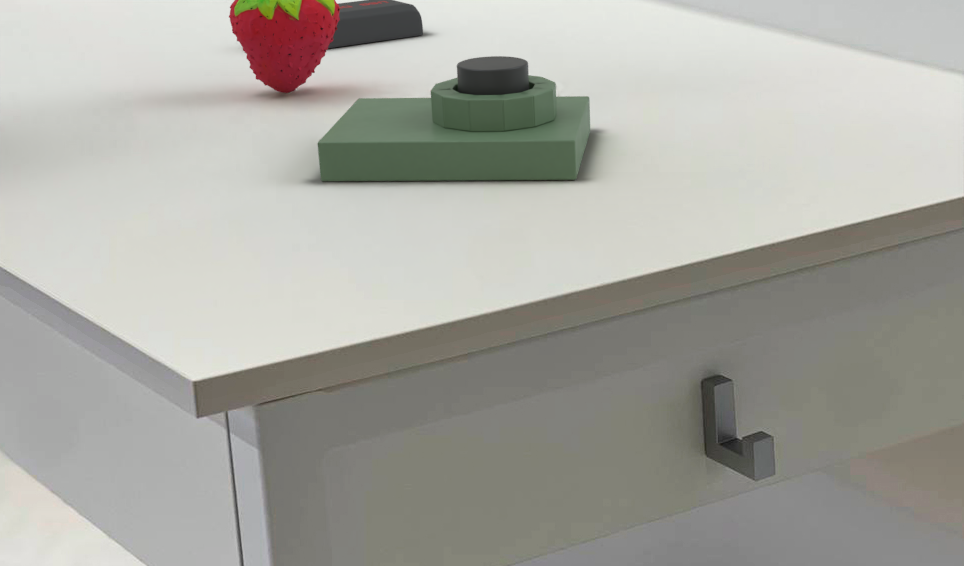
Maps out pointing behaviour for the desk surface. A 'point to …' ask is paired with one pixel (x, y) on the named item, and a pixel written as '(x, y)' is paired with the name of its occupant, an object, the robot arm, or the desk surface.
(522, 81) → the button
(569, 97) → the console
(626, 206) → the desk surface
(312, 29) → the strawberry
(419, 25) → the usb drive
